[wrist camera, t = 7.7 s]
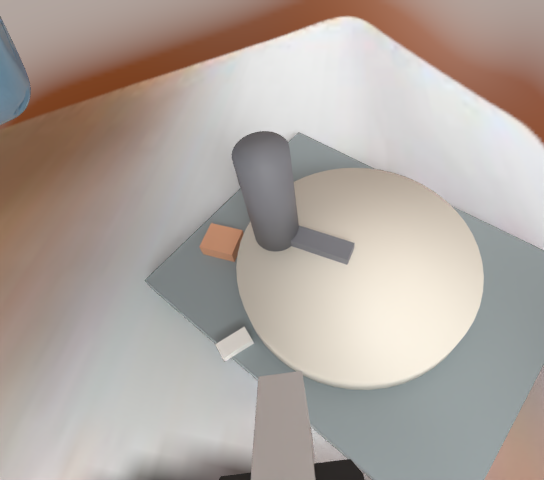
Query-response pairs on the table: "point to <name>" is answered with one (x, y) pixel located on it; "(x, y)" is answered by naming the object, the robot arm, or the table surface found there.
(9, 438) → the table surface
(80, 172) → the table surface
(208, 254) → the dial board
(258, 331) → the dial
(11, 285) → the table surface
